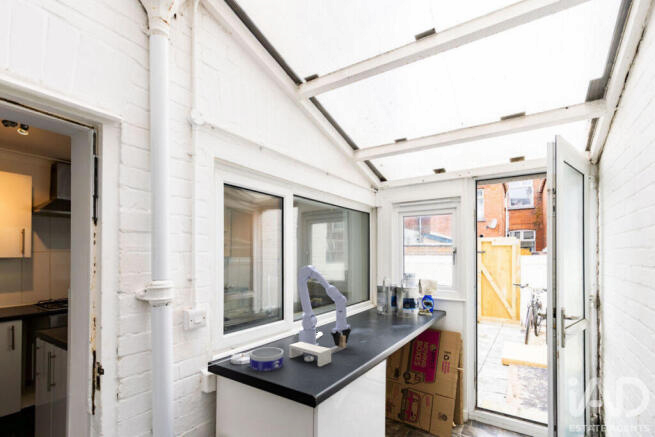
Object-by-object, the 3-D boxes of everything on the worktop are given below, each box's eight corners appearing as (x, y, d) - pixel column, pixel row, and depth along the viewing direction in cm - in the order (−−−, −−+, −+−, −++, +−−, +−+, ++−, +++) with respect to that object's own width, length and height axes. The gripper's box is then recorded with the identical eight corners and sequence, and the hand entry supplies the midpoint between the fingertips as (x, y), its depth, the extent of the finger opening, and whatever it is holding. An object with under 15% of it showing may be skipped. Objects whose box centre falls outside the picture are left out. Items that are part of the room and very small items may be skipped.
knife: (318, 328, 217) (329, 329, 215) (318, 331, 217) (329, 331, 215) (301, 338, 189) (313, 339, 187) (301, 341, 189) (313, 342, 187)
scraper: (313, 355, 162) (313, 342, 162) (338, 346, 178) (338, 334, 178) (321, 357, 158) (321, 344, 159) (346, 348, 175) (346, 335, 175)
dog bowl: (268, 373, 138) (269, 359, 139) (242, 367, 145) (242, 353, 146) (289, 363, 151) (290, 350, 152) (264, 358, 159) (264, 345, 159)
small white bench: (289, 357, 159) (289, 344, 159) (300, 353, 165) (300, 341, 166) (320, 366, 146) (320, 352, 147) (331, 362, 152) (331, 348, 153)
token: (302, 360, 155) (302, 357, 155) (308, 358, 158) (308, 355, 158) (309, 362, 152) (309, 359, 152) (315, 360, 155) (315, 357, 156)
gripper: (339, 321, 169) (339, 348, 167) (354, 317, 180) (354, 342, 179) (328, 319, 173) (328, 346, 172) (344, 315, 184) (344, 340, 183)
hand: (341, 344), depth 175 cm, fingers open, 7 cm apart
